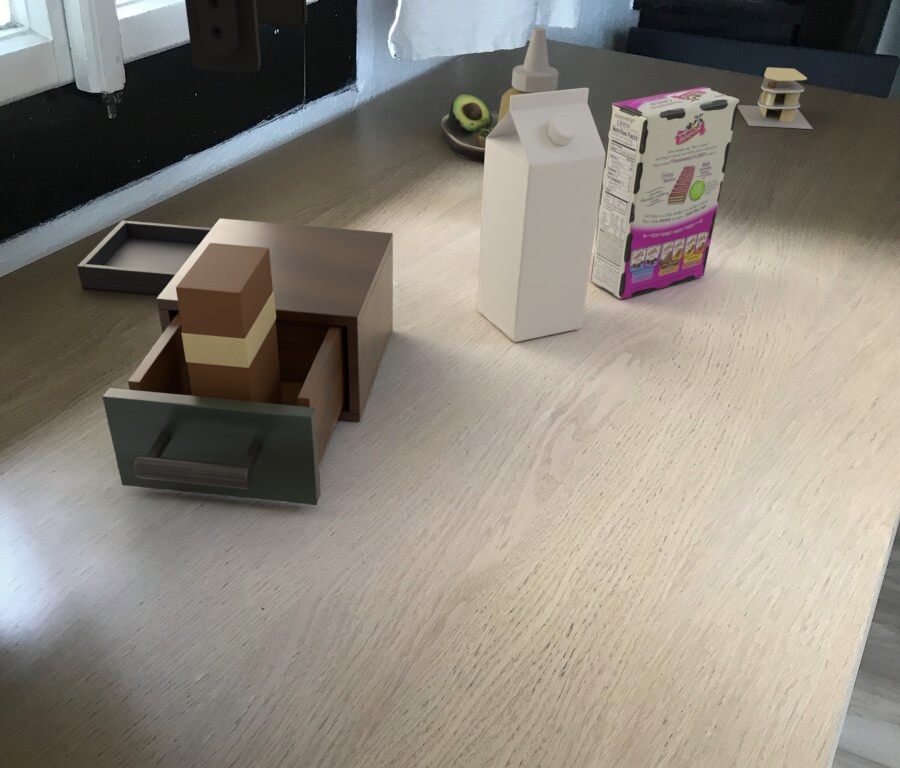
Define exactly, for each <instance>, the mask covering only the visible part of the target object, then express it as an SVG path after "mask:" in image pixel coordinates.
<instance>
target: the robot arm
mask: <svg viewBox="0 0 900 768" xmlns="http://www.w3.org/2000/svg"><path fill="white" fill-rule="evenodd" d="M184 2H185V3H184V4H185V11H186V20H187V28H188V37H189V44H190V52H191V60H192V63H193V65H194V66H195V68H197V69H199V70H204V71H217V72H231V73H244V74H254V73H256V72H257V71H258V70H259V69H260V68H261V65H262V58H261V57H262V56H261V46H260V45H261V44H260V35H259V33H260V32H259V25H262V26H263V25H264V26H265V25H266V26H276V27H277V26H279V27H292V28H293V27H294V28H301V27H303V26H304V25H305V24H306V23H307V21H308V7H307V0H184Z"/></svg>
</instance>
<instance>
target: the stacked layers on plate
mask: <svg viewBox="0 0 900 768" xmlns="http://www.w3.org/2000/svg"><path fill="white" fill-rule="evenodd" d="M763 76H764V78H763V81H762V83H761V87H760V88H761V90H762V92H760V95H759V96H758V97H759V98H758V100H757V105H747V104H746V105H745V104H738V108H737V110H738V111H739V112H740V114H741V116H742V117H743V119H744V120H745V122H746V124H747V125H748V126H749V127H765V128H786V129H803V130H814V128H813V126H811V124H810V123H809V122H808V120H807V119H806V117H805V116H804V115H803V114H802V112H801V111H800V110H799V109H798V108H801V103H800V102H799V100H800V96H801V93H803V92H805V87H804V86H803V85H801V84H800V83H799V82H797V81H806V80H808V77H807V76H805V75H804V74H803V73H801V72H800V71H798V70H797V69H796V68H788V67H787V68H786V67H770V66H768V67H766V69H765V72H764V74H763Z"/></svg>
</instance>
